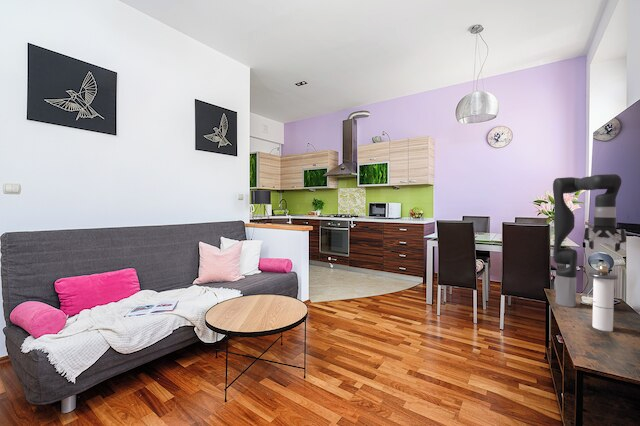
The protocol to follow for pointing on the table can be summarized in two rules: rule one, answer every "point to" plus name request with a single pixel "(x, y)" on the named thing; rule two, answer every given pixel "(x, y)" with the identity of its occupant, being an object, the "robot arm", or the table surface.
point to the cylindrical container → (603, 304)
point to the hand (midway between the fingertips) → (604, 250)
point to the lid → (603, 273)
